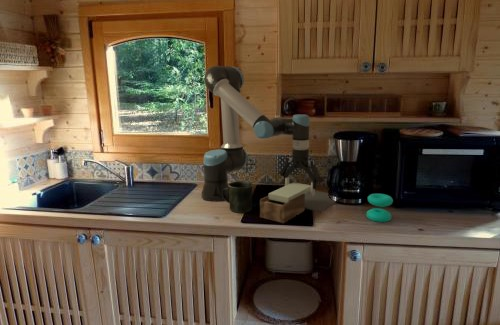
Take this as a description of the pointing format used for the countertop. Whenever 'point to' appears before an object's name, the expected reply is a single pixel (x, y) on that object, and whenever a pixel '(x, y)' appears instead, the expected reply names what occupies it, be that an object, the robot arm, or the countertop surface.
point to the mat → (318, 201)
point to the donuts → (377, 213)
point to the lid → (289, 192)
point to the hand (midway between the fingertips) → (299, 192)
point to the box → (281, 208)
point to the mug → (239, 196)
